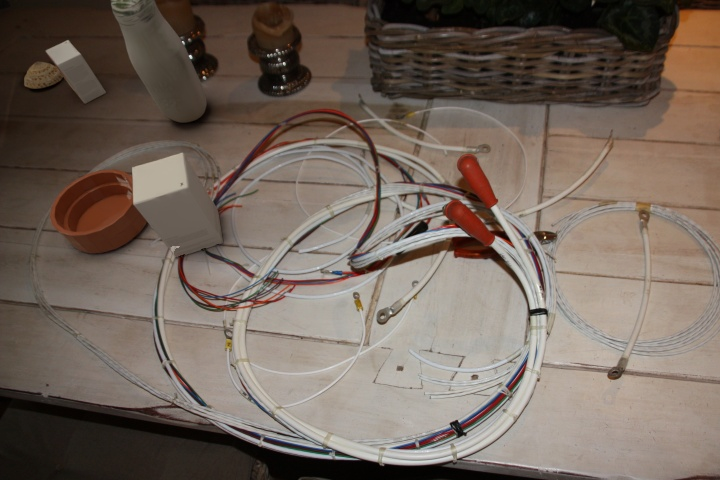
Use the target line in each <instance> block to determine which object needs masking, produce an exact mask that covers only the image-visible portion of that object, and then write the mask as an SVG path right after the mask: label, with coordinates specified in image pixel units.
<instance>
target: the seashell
mask: <svg viewBox="0 0 720 480" xmlns="http://www.w3.org/2000/svg"><path fill="white" fill-rule="evenodd" d="M63 78H64V77H63V75H62V74H61V73H60V71H59V70H58V68H57V67H56V66H55V64H52V63H49V62H44V61H37V60H36V62H34V63H33V64H31V66H29V68H28V69H27V72H26V74H25V75H24V78H23V86H24V87H26V88H29V89H38V90H39V89H44V88H48V87H51V86H53V85H56V84H57V83H60V81H62V80H63Z"/></svg>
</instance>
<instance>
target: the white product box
mask: <svg viewBox="0 0 720 480" xmlns="http://www.w3.org/2000/svg"><path fill="white" fill-rule="evenodd" d="M131 171H132V173H131V174H132V175H131V176H132V177H133V205H134V206H135V207H136V208H137V209H138V211H139V212H140V213H141V214H142V216H143V217H144V218H145V219H146V221H147V223H148V224H149V226H150V227H151V228H152V229H153V231H154V232H155V233H156V235H157V236H158V237H159V238H160V240H161V241H162V243H164V245H165V246H166V247H167V249H168V250H170V247H172V246H180V247H179V248H176V249H175V251H174V255H173V256H174V257H175V256H179V255H183V254H185V255H184V256H187V255H190V254H193V253H196V252H199V251H202V250H201V249H202V248H206V249H209V248H211V247H215V246H216V245H215V244H219V245H221V244H223V243H224V239H223V231H222V226H221V220H220V214H219V209H218V207H217V205H216V204H215V202H214V201H213V199H212V198H211V197H212V196H210V194H209V192H208V190H207V189H206V188H205V186H204V184H203V182H202V181H201V179H200V178H199V176H198V174H197V172H196V171H195V169H194V168H193V166H192V164H191V163H190V161H189V159H188V158H187V155H186V154H185V152H180V153H177V154H172V155H170V156H166V157H163V158H160V159H155V160H153V161H150V162H146V163H142V164H140V165H136V166H132V167H131ZM217 209H218V210H217Z"/></svg>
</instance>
